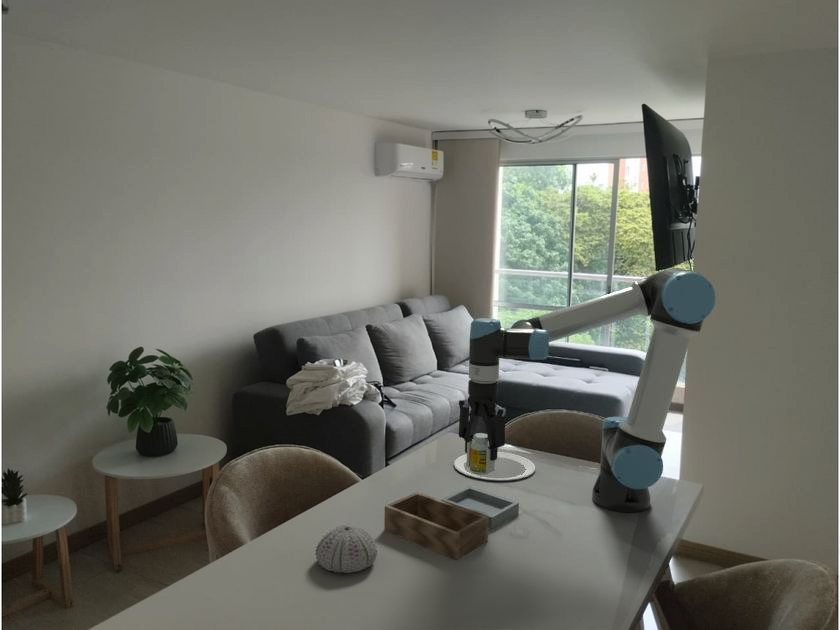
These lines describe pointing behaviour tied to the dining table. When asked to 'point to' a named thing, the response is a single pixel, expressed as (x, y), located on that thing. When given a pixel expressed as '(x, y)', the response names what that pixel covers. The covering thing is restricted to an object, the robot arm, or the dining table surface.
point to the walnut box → (436, 525)
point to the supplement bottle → (479, 454)
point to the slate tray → (484, 505)
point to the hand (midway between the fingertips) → (480, 468)
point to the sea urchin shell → (346, 550)
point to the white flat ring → (527, 463)
